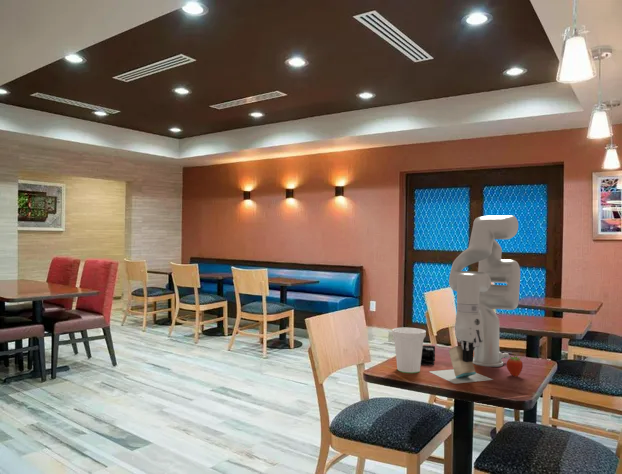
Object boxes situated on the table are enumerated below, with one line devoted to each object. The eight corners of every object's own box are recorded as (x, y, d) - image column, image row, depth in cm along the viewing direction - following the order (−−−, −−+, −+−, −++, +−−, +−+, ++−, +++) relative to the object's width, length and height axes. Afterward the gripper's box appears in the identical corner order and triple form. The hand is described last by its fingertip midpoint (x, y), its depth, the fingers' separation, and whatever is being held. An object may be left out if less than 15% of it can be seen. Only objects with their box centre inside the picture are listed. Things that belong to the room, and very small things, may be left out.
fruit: (512, 379, 171) (512, 356, 171) (503, 375, 176) (503, 353, 176) (525, 378, 172) (525, 355, 172) (516, 374, 177) (516, 352, 177)
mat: (464, 369, 184) (464, 368, 184) (493, 380, 169) (493, 379, 169) (428, 372, 179) (428, 371, 179) (454, 384, 163) (454, 383, 163)
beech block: (467, 376, 172) (460, 349, 176) (475, 373, 168) (467, 345, 172) (455, 378, 170) (448, 350, 175) (463, 374, 166) (455, 346, 170)
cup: (388, 373, 177) (388, 331, 177) (395, 365, 189) (395, 326, 189) (423, 377, 172) (423, 334, 173) (427, 368, 184) (428, 328, 184)
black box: (434, 361, 196) (434, 344, 196) (435, 365, 189) (435, 348, 189) (409, 359, 198) (409, 343, 198) (409, 364, 191) (409, 347, 191)
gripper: (491, 311, 162) (491, 365, 162) (463, 305, 176) (463, 355, 176) (473, 312, 160) (472, 367, 160) (446, 306, 174) (446, 357, 174)
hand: (468, 361), depth 168 cm, fingers closed
